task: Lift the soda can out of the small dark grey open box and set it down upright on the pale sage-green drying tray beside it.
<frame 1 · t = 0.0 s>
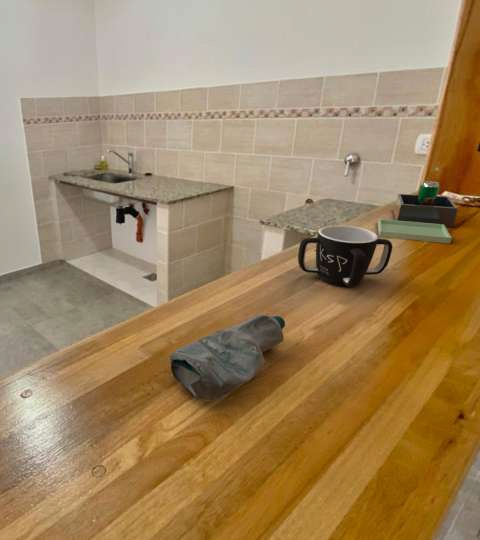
mug: (337, 280, 93), on the table
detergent: (233, 365, 67), on the table
dark grey open box: (420, 218, 130), on the table
drying tray: (411, 233, 119), on the table
soda can: (420, 218, 130), resting on dark grey open box
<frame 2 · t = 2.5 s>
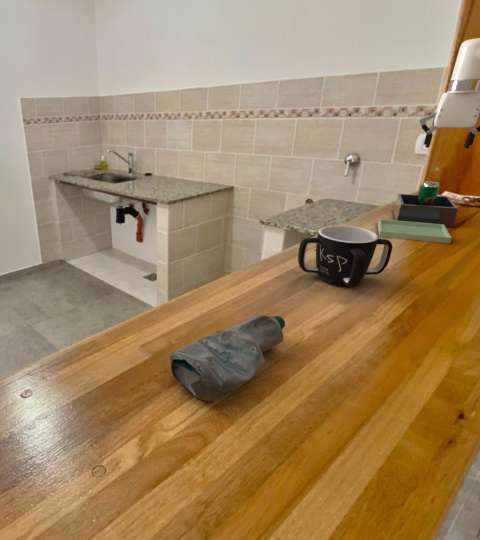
hand: (446, 147, 119), 24 cm above the table, tool pointing down, fingers open, 9 cm apart
nothing on the table moved.
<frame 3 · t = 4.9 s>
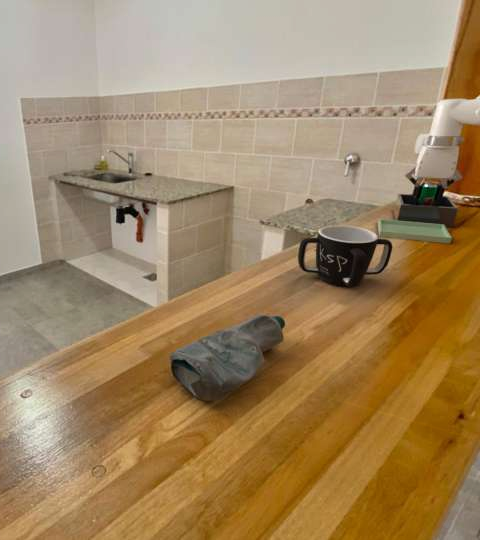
hand: (426, 198, 127), 7 cm above the table, tool pointing down, fingers closed on soda can, 5 cm apart
soda can: (420, 218, 130), resting on dark grey open box, touching gripper
everything else where it was.
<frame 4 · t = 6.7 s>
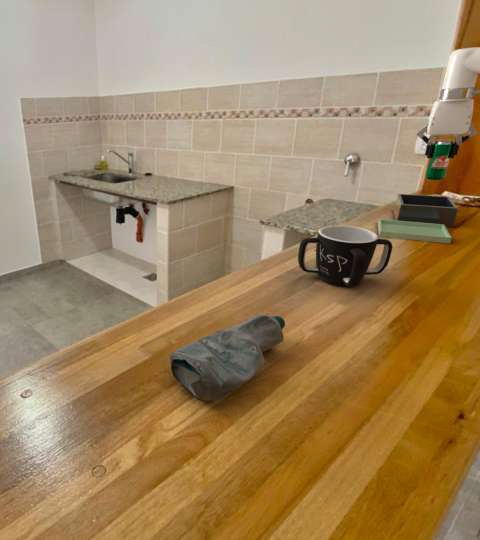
hand: (439, 157, 121), 21 cm above the table, tool pointing down, fingers closed on soda can, 5 cm apart
soda can: (434, 179, 124), point 13 cm above the table, touching gripper
everything else where it was.
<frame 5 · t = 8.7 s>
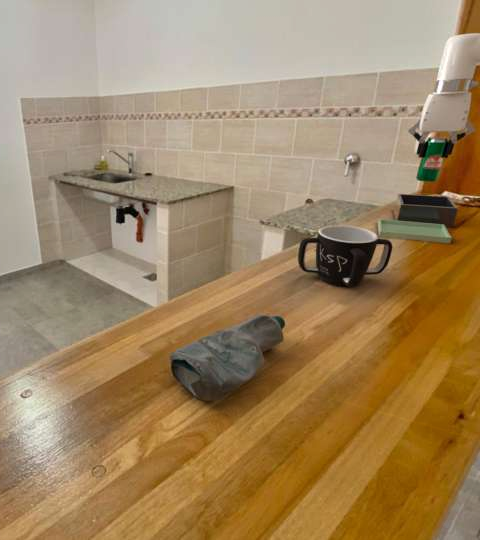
hand: (432, 156, 110), 23 cm above the table, tool pointing down, fingers closed on soda can, 5 cm apart
soda can: (425, 180, 113), point 16 cm above the table, touching gripper
everything else where it was.
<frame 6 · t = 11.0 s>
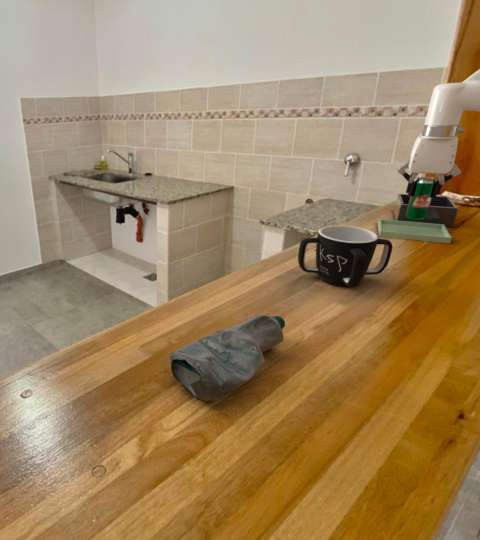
hand: (421, 195, 114), 12 cm above the table, tool pointing down, fingers closed on soda can, 5 cm apart
soda can: (415, 218, 117), point 5 cm above the table, touching gripper
everything else where it was.
when the fingers open (7 cm above the table, at t = 12.5 s): soda can stays where it is, resting on drying tray.
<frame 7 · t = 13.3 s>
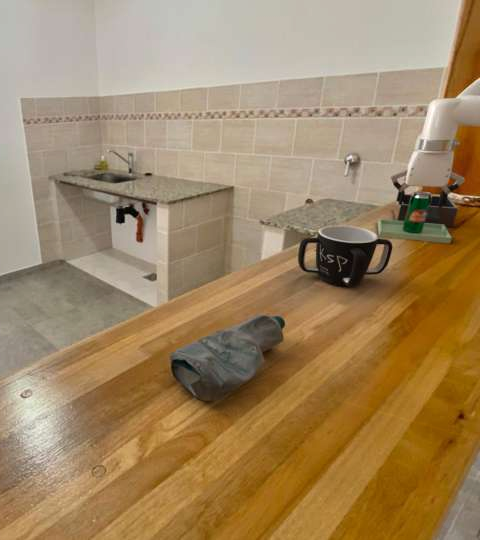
hand: (419, 205, 115), 9 cm above the table, tool pointing down, fingers open, 9 cm apart
soda can: (411, 231, 118), resting on drying tray
everything else where it was.
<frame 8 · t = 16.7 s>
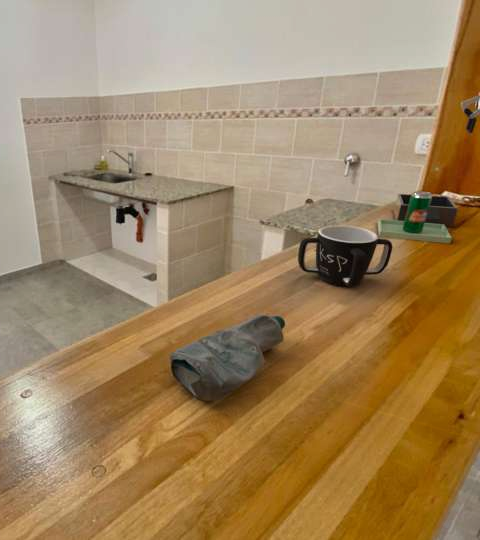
nothing on the table moved.
at the end: soda can inside the target area in the drying tray (0.1 cm from its centre), point 0.4 cm above the drying tray's base; soda can tilted 0°; the gripper is holding nothing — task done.
